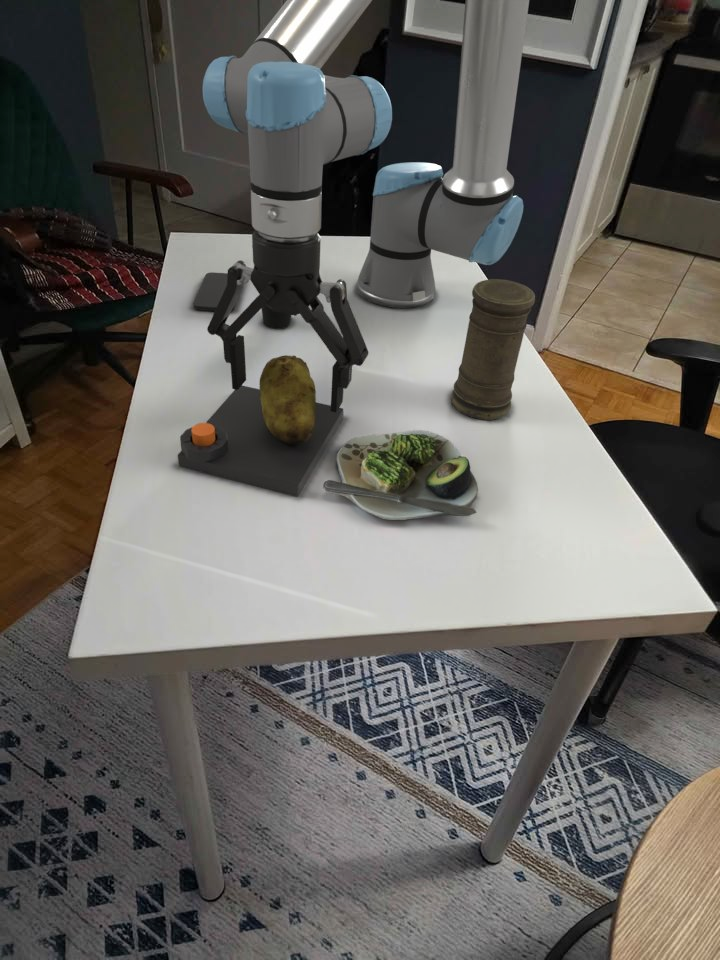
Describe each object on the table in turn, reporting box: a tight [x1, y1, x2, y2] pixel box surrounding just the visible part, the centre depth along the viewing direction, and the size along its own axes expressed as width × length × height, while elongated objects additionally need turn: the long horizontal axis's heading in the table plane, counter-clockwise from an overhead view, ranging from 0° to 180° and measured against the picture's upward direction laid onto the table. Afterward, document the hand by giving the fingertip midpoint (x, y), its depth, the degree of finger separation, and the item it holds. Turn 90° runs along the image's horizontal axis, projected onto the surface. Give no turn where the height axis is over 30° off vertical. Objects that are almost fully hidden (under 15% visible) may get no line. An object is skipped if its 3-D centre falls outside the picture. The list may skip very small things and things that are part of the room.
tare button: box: [191, 422, 216, 446], centre depth 80 cm, size 3×3×2 cm
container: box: [450, 278, 536, 421], centre depth 92 cm, size 9×9×18 cm
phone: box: [192, 271, 239, 312], centre depth 121 cm, size 7×1×15 cm
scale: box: [177, 384, 344, 497], centre depth 86 cm, size 18×16×4 cm
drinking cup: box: [251, 245, 292, 330], centre depth 107 cm, size 8×8×20 cm
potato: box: [259, 354, 317, 445], centre depth 85 cm, size 8×13×8 cm, turn 175°
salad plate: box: [322, 429, 479, 521], centre depth 80 cm, size 19×18×5 cm
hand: (287, 395), depth 84 cm, fingers open, 13 cm apart
